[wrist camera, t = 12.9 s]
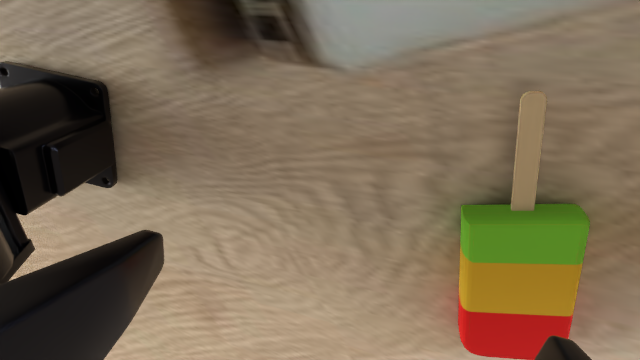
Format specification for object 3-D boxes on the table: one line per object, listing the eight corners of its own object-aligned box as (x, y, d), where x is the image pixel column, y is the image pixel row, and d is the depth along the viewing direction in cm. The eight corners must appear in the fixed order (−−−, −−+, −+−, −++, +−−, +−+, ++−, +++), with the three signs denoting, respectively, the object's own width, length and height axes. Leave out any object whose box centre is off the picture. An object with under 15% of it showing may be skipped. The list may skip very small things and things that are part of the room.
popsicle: (456, 333, 24) (459, 359, 23) (462, 91, 18) (467, 102, 16) (555, 338, 23) (567, 366, 22) (599, 80, 17) (620, 91, 15)
